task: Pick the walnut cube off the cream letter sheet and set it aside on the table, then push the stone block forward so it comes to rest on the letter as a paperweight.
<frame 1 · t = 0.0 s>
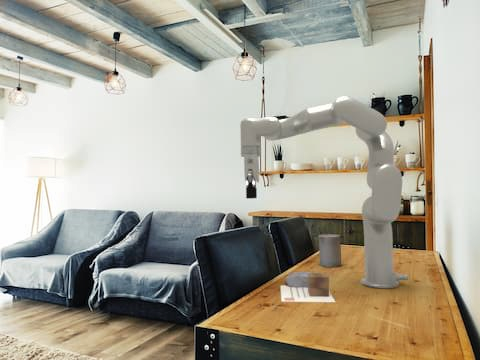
hand: (251, 198, 138), 31 cm above the table, tool pointing down, fingers open, 9 cm apart
stone block: (299, 284, 135), on the table, touching letter
walnut cube: (318, 293, 120), resting on letter
pillar candle: (330, 265, 169), on the table
letter: (305, 293, 122), on the table
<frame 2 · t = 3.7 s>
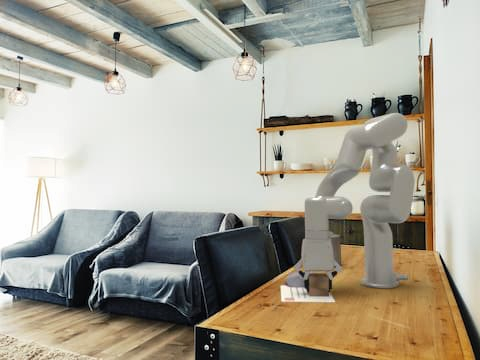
hand: (318, 290, 120), 1 cm above the table, tool pointing down, fingers closed on walnut cube, 6 cm apart
walnut cube: (318, 293, 120), resting on letter, touching gripper
everything else where it was.
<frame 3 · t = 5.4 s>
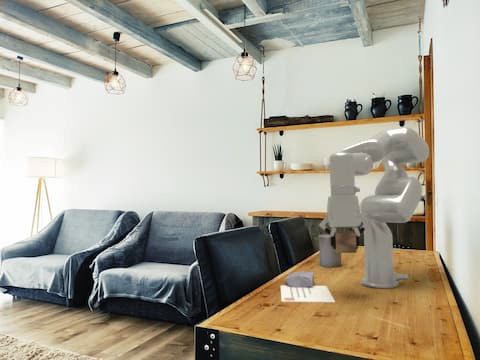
hand: (345, 248, 118), 15 cm above the table, tool pointing down, fingers closed on walnut cube, 6 cm apart
walnut cube: (345, 251, 118), point 14 cm above the table, touching gripper
everything else where it was.
when the fingers open (2 cm above the table, at t = 7.5 s): walnut cube stays where it is, on the table.
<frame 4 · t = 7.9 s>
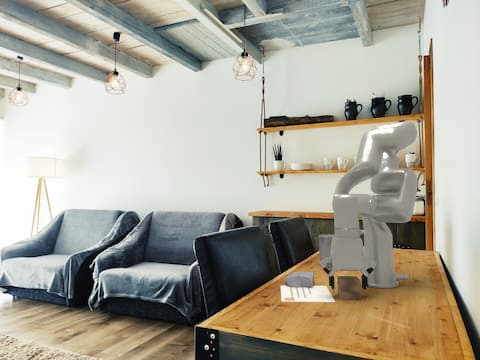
hand: (348, 288, 117), 3 cm above the table, tool pointing down, fingers open, 9 cm apart
walnut cube: (349, 297, 116), on the table
everything else where it was.
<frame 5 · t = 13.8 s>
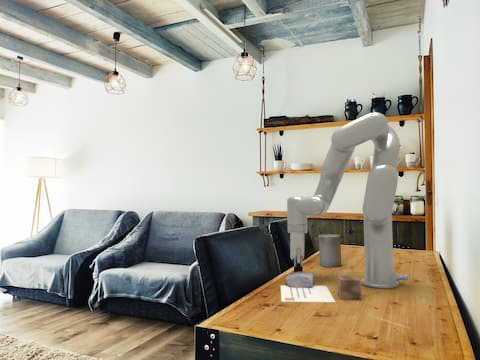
hand: (298, 276, 142), 1 cm above the table, tool pointing down, fingers closed
stone block: (299, 284, 134), on the table, touching gripper
everything else where it was.
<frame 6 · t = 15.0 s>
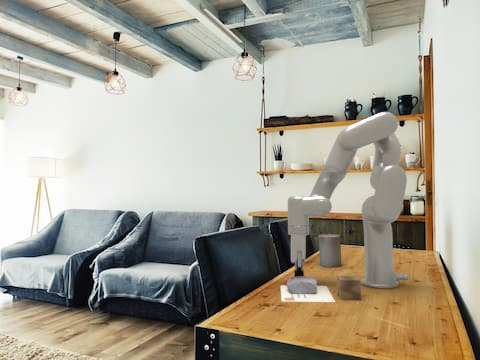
hand: (299, 281, 134), 1 cm above the table, tool pointing down, fingers closed
stone block: (301, 290, 126), on the table, touching gripper
everything else where it was.
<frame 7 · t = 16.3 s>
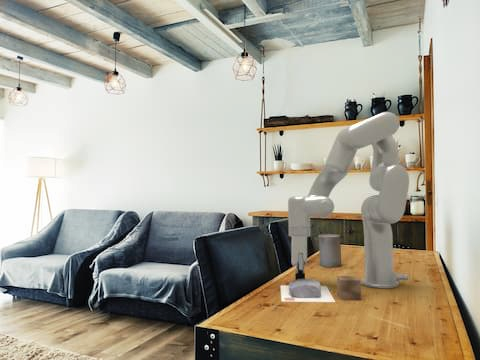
hand: (300, 284, 129), 1 cm above the table, tool pointing down, fingers closed
stone block: (303, 293, 121), on the table, touching gripper, letter
everything else where it was.
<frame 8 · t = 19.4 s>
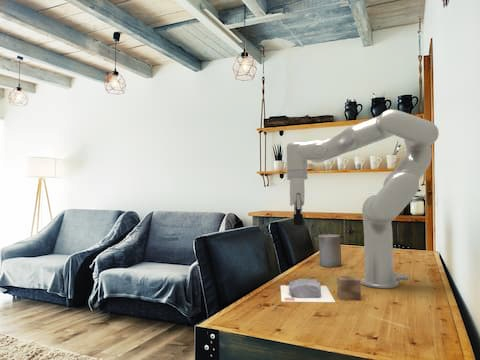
hand: (298, 224, 138), 21 cm above the table, tool pointing down, fingers closed
stone block: (303, 293, 121), on the table, touching letter
everything else where it was.
at the end: stone block inside the target area on the letter (0.7 cm from its centre), point 0.0 cm above the letter's base; walnut cube inside the target area (0.1 cm from its centre), on the table; walnut cube touching table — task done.
